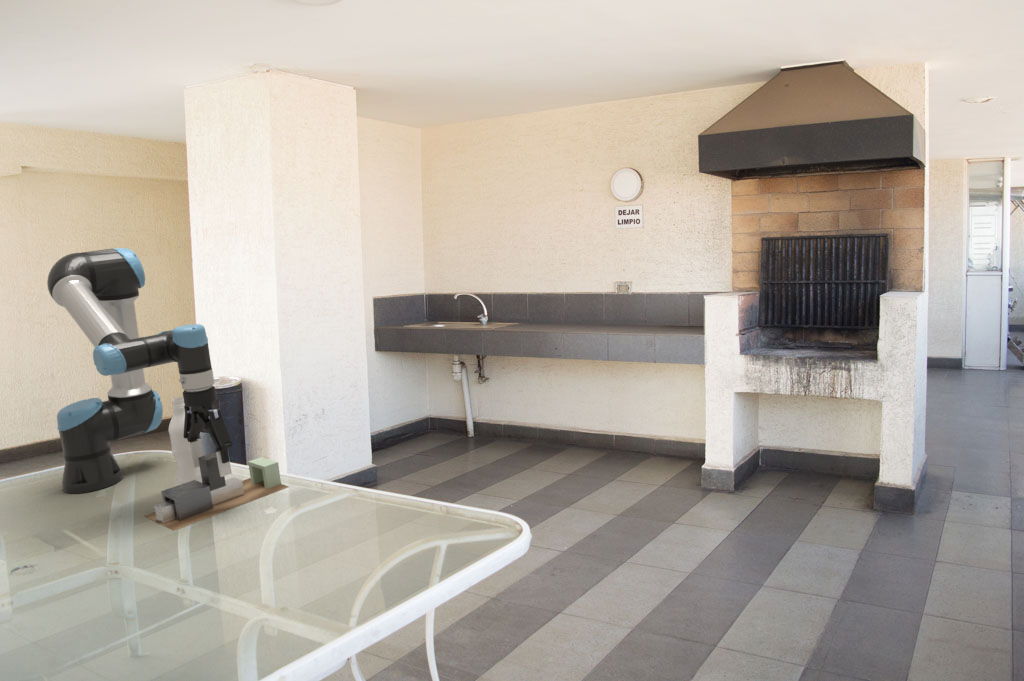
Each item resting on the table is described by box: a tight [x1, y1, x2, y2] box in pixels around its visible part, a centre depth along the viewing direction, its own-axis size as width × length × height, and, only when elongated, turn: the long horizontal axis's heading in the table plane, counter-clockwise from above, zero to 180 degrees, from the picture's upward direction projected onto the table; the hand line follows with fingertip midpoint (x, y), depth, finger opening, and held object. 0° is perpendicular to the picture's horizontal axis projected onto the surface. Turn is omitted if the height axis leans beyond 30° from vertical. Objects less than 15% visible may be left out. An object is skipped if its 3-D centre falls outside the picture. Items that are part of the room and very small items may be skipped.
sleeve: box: [161, 480, 213, 521], centre depth 196 cm, size 8×8×6 cm
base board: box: [143, 477, 290, 531], centre depth 203 cm, size 16×31×1 cm, turn 138°
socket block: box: [247, 456, 282, 489], centre depth 212 cm, size 8×4×6 cm, turn 48°
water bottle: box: [168, 396, 202, 486], centre depth 214 cm, size 7×7×25 cm
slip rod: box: [153, 452, 244, 523], centre depth 198 cm, size 4×21×12 cm, turn 138°
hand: (212, 470), depth 201 cm, fingers open, 13 cm apart
